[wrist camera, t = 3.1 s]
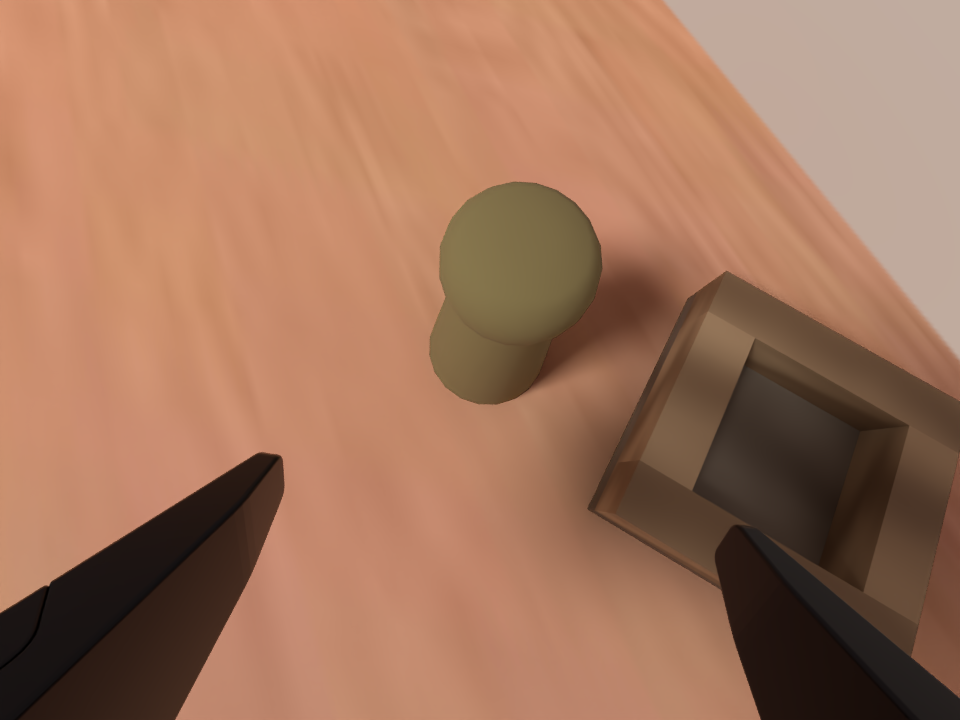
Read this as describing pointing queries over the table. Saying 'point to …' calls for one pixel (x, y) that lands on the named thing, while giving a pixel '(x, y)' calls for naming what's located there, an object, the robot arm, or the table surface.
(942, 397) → the walnut pocket block
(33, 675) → the robot arm
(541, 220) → the olive mushroom shape
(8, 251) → the table surface
